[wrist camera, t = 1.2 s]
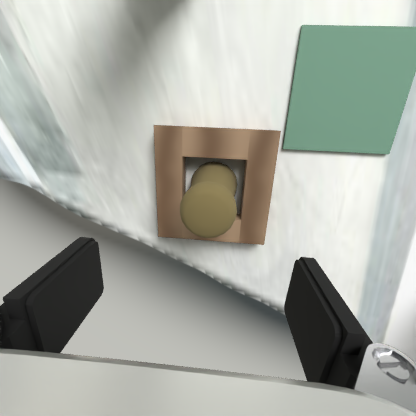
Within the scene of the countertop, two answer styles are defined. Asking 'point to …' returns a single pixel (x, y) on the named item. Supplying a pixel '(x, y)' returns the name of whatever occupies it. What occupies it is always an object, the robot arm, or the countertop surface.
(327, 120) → the mat
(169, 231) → the socket
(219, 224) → the cork
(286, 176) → the countertop surface
